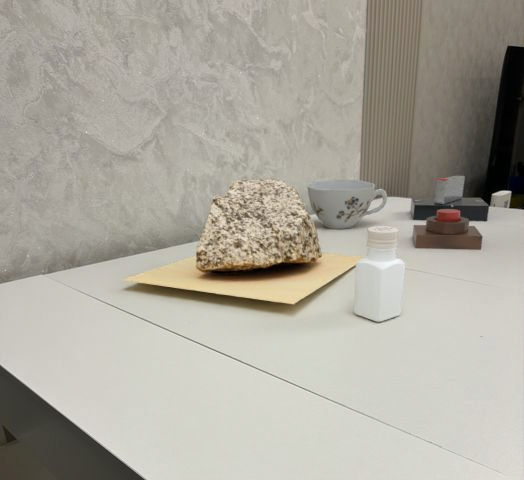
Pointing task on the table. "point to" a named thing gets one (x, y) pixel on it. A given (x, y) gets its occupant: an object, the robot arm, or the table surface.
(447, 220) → the button
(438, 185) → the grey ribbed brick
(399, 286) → the salt shaker
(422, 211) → the faucet plate
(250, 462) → the table surface
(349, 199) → the teacup
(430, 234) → the button block
